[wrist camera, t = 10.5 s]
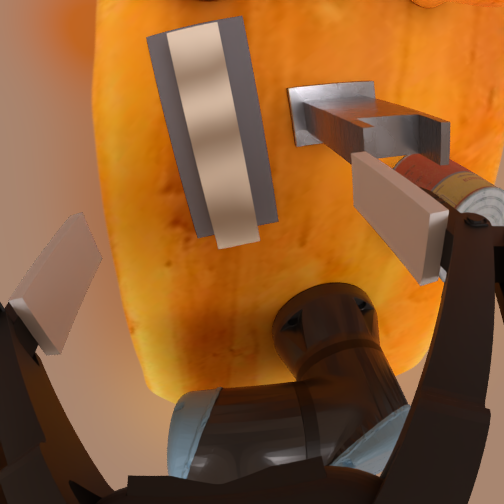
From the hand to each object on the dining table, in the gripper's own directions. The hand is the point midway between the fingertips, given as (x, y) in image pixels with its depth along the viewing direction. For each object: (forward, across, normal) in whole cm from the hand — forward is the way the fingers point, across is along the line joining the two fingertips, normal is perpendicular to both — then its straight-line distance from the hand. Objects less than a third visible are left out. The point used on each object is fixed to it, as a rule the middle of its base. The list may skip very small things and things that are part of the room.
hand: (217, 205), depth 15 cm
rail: (+18, 0, 0) cm, 18 cm away
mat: (+18, 0, 0) cm, 18 cm away
